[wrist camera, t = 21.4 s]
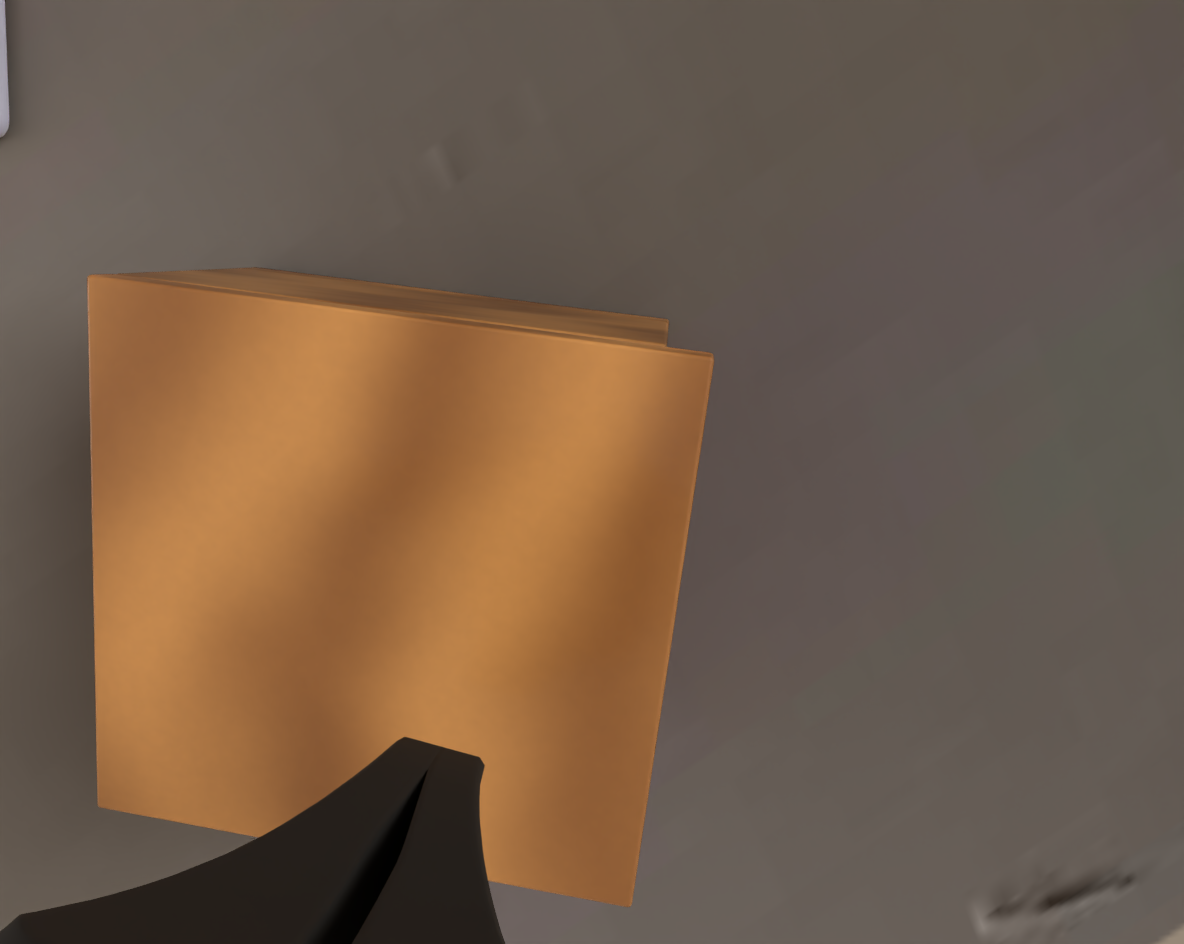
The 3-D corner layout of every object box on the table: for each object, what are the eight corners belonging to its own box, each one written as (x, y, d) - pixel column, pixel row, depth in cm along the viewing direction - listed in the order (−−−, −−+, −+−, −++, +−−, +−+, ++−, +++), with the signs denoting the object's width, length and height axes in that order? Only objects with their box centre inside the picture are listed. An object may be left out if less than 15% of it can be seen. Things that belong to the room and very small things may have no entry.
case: (669, 319, 21) (667, 344, 16) (613, 720, 24) (595, 863, 18) (255, 267, 22) (111, 273, 16) (245, 664, 25) (118, 786, 19)
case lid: (714, 352, 15) (714, 357, 15) (633, 884, 18) (630, 909, 17) (110, 273, 16) (85, 274, 16) (117, 788, 19) (96, 808, 18)
